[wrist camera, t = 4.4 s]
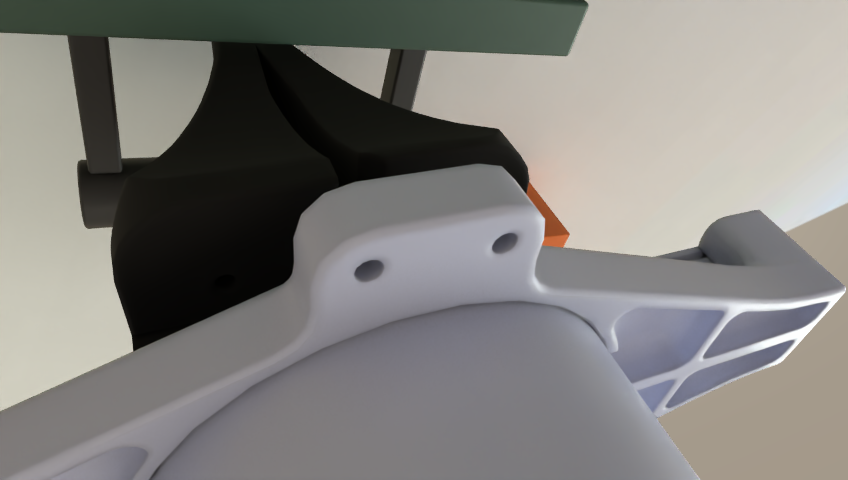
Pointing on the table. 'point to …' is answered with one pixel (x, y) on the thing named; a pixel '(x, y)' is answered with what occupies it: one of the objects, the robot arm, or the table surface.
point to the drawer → (273, 24)
